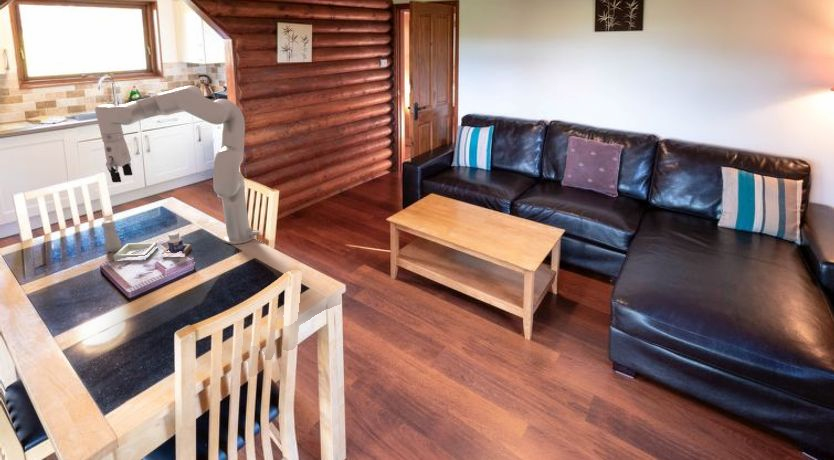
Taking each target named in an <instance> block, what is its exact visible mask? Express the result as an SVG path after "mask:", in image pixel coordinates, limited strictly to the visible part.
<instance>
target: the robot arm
mask: <svg viewBox="0 0 834 460" xmlns="http://www.w3.org/2000/svg"><path fill="white" fill-rule="evenodd" d="M94 110H95V111H94V112H95V115H96V116H95V117H96V120H97V124H98V129H99V131H100V136H101V140H102V142H103V147H104V153H105V158H106V163H105V166H106V168H107V171H108V173H110V178H111V182H113V183H121V182H122V178H121V174H120V172H119V167H120V168H121V167H122V172H123V175H124V176H127V177H128V176H133V170H132V166H131V165H132V164H131V160H132V157H131V154H130V153H131V152H130V151H129V148H128V145H127V141H126V140H125V135H124V130H123V128H122V126H129V125H132V124H135V123H137V122H138V121H142V120H147V119H150V118H154V117H156V116H169V115H173V114H177V113H180V112H186V113H188V114H189V115H192V116H194V117H196V118H198V119H201V120H203V121H204V122H207V123H209V124H212V125H223V127H222V133H221V134H222V135H221V136H222V137H221V147H220V149H219V150H218V152H217V153H216V154H215V156H214V157H215V158H214V162H213V177H212V178H213V179H212V181H213V182H212V183H213V184H212V185H213V190H214V192H215V194H216V195H218V197H220V198H221V203H222V211H223V216H224V223H225V229H226V235H225V236H224V237H223V241H224V243H227V244H231V245H241V244H245V243H249V242H250V241H253V239H254V238H255V236H260V235H261V232H260V230H259V229H252V226H250V222H249V216H248V210H247V209H248V207H247V201H246V187H245V178H244V176H243V174H242V172H241V171H240V166H241V164H242V163H243V161H244V157H245V156H244V154H245V131H246V123H245V117H244V114H243V112H242V111H241V109H240V107H239V106H237V104H236V103H234V102H233V101H231V100H229V99H227V98H218V99H216V100H212V99H210V98H208V97H205V95H204V91H203V90H202V89H201V88H200V87H199V86H196V85H186V86H183V87H178V88H175V89H171V90H168V91H163V92H160V93H157V94H154V95H152V96H149V97H145V98H143V99H138V100H135V101H130V102H127V103H125V104H121V105H115V104H100V105H97V106H95V108H94Z"/></svg>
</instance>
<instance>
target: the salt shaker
mask: <svg viewBox="0 0 834 460" xmlns="http://www.w3.org/2000/svg"><path fill="white" fill-rule="evenodd" d="M101 227H102V228H103V229H104V238H105V242H104V243H105V249H106V250H108V252H109V253H117V252H118V251H119V250H120V249H121V248H122V244H123V243H122V241H121V239H120V238H119V235H118V233H117V231H116V230H115V222H114V221H113V220H105V221H103V222H102V223H101Z"/></svg>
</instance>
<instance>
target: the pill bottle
mask: <svg viewBox="0 0 834 460" xmlns="http://www.w3.org/2000/svg"><path fill="white" fill-rule="evenodd" d="M167 236H168V239H167V245H168V246H169V251H170V252H179V251H183V250H184V248H183V244H184V243H183V239H182V237H181V236H180V232H179V231H171V232H169V233H167ZM168 246H167V247H168Z"/></svg>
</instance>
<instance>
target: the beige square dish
mask: <svg viewBox="0 0 834 460" xmlns="http://www.w3.org/2000/svg"><path fill="white" fill-rule="evenodd" d="M183 248H184V250H183V251H182V253H185V254H187V255H188V253H189V252H190V251H191V250H192V244H189V243H187V244H186V243H183ZM168 250H169V246H167V247H166V248H165V250H164V251H163V252H162V253H161V255H162V254H164V253H177V252H166V251H168Z"/></svg>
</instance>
